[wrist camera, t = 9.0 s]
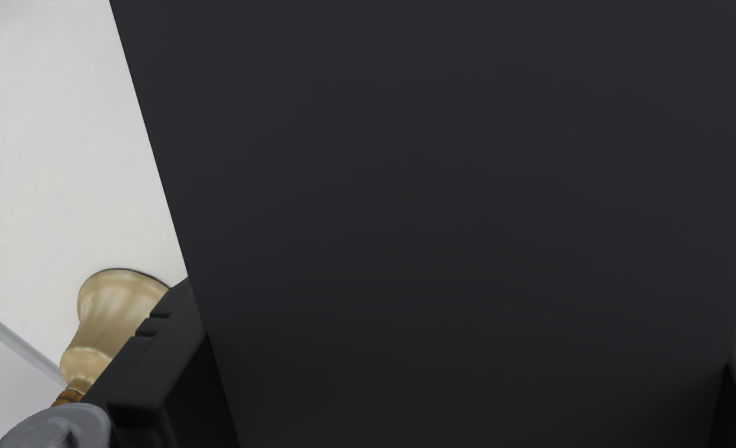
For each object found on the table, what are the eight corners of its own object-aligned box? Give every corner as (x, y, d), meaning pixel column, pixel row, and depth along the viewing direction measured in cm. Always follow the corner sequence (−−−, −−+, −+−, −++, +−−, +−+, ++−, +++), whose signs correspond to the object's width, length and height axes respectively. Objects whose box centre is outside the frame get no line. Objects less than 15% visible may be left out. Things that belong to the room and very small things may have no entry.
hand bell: (164, 387, 45) (13, 618, 32) (62, 319, 44) (-141, 531, 30) (220, 321, 41) (71, 556, 28) (108, 244, 40) (-105, 452, 26)
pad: (311, 381, 12) (256, 519, 10) (187, -262, 8) (15, -313, 5) (647, 407, 11) (682, 575, 8) (763, -361, 6) (928, -502, 4)
